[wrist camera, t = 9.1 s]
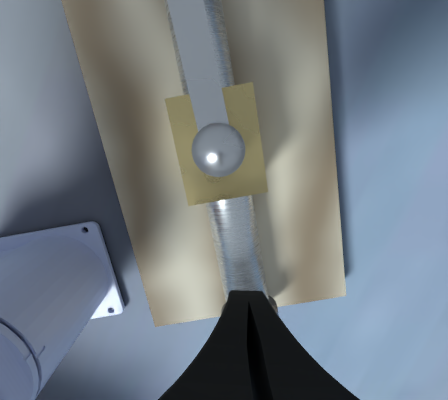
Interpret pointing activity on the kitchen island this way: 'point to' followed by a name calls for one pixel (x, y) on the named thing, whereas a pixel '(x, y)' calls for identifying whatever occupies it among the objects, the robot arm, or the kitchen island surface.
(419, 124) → the kitchen island surface
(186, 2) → the valve lever
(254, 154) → the valve pipe
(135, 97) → the valve board
